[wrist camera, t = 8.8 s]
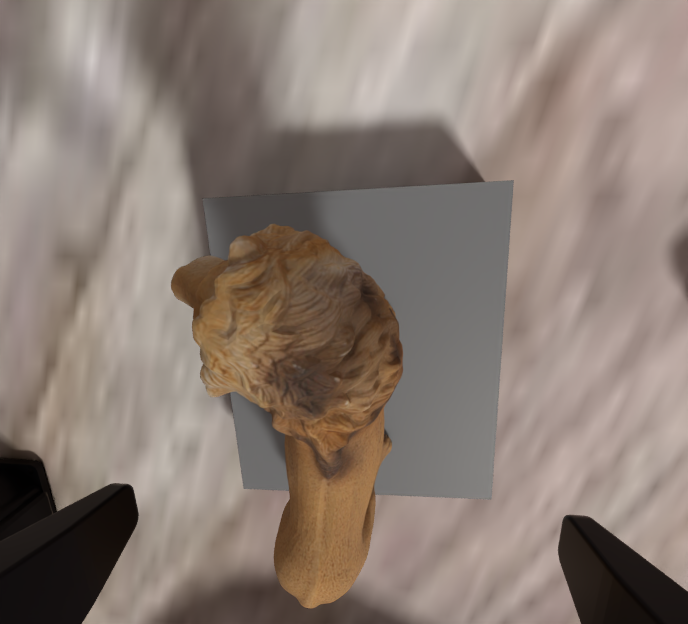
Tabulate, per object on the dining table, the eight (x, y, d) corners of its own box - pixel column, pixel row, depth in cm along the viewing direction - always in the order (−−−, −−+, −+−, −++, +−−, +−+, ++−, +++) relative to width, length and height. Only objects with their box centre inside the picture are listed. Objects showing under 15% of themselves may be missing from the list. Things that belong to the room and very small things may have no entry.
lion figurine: (260, 227, 15) (68, 245, 6) (392, 211, 14) (390, 205, 5) (310, 523, 18) (234, 801, 10) (416, 525, 17) (440, 830, 9)
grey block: (268, 440, 22) (243, 488, 18) (240, 201, 18) (202, 198, 14) (471, 446, 20) (491, 499, 17) (484, 188, 17) (513, 180, 13)
